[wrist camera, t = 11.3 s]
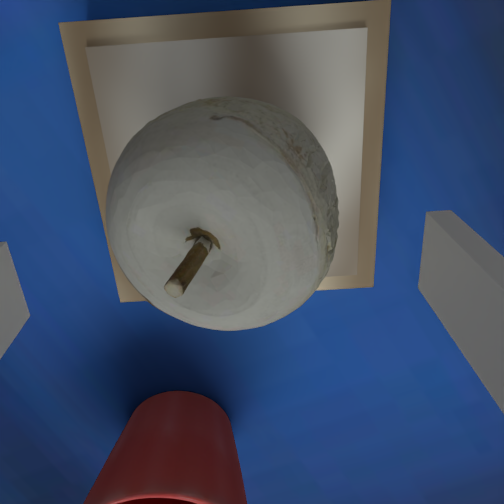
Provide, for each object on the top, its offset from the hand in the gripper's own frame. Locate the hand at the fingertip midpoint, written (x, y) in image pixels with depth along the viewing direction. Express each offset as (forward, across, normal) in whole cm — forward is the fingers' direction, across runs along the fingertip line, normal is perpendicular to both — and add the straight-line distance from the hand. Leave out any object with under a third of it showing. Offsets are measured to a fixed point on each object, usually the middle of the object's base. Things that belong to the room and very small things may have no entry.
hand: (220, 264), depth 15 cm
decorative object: (+9, 0, 0) cm, 9 cm away
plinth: (+13, +1, 0) cm, 13 cm away
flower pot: (+14, -5, -21) cm, 25 cm away
